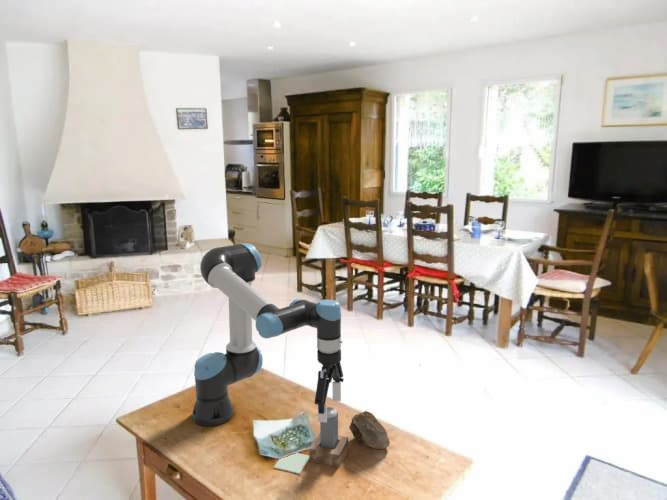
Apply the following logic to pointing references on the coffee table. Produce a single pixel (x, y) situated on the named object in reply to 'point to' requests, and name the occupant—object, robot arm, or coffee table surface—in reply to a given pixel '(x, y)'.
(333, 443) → the plug
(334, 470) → the coffee table surface
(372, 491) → the coffee table surface
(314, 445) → the brown square frame
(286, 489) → the coffee table surface
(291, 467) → the mat
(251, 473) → the coffee table surface
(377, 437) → the rock
